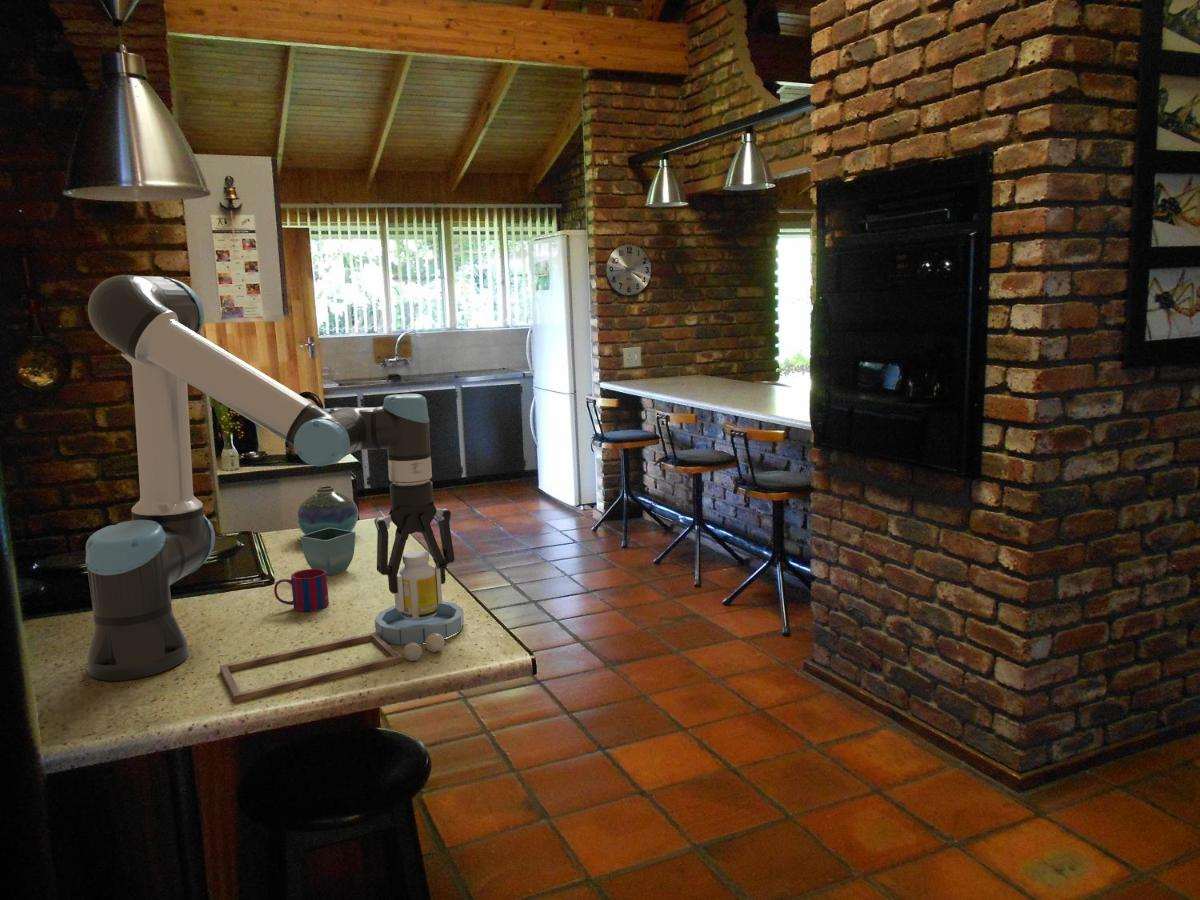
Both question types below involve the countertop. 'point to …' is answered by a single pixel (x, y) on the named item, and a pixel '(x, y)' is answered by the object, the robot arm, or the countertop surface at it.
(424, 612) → the pill bottle
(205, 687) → the countertop surface
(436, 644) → the pebble
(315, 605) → the mug
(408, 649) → the glossy pale sphere
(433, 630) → the bowl
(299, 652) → the open rectangular frame
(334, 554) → the flower pot
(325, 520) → the vase
